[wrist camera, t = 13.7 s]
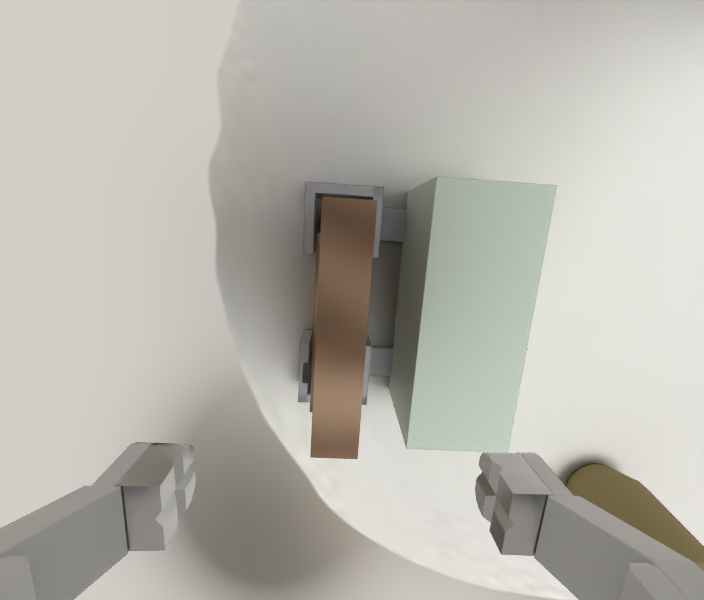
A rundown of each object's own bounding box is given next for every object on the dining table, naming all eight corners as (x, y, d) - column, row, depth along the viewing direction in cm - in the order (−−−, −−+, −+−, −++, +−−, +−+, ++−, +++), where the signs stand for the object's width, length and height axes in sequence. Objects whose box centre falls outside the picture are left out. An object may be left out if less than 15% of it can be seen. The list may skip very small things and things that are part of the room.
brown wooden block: (317, 208, 32) (299, 194, 18) (361, 211, 32) (377, 200, 18) (310, 367, 35) (291, 456, 21) (351, 369, 35) (357, 459, 22)
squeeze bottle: (541, 497, 39) (702, 714, 22) (583, 443, 38) (791, 629, 20) (595, 523, 40) (789, 752, 23) (637, 472, 39) (880, 673, 22)
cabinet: (302, 384, 35) (288, 444, 26) (310, 184, 31) (296, 166, 21) (462, 391, 36) (507, 452, 26) (491, 197, 32) (556, 185, 22)
